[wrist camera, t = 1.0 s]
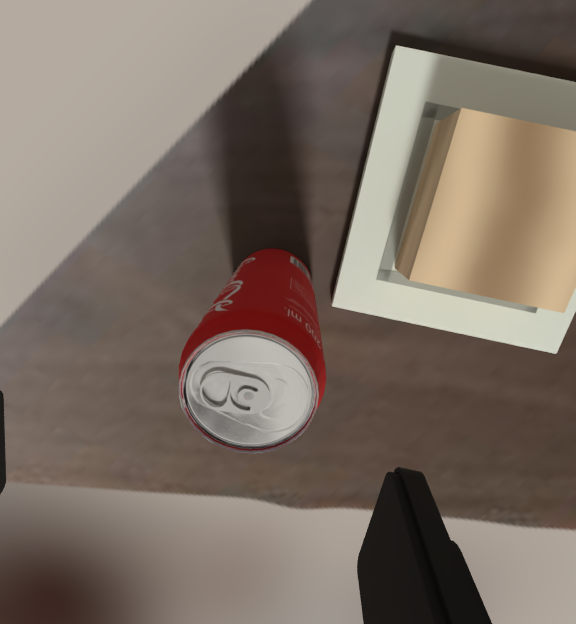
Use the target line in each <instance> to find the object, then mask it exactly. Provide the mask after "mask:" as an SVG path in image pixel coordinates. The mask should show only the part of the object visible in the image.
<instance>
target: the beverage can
mask: <svg viewBox="0 0 576 624" xmlns="http://www.w3.org/2000/svg"><path fill="white" fill-rule="evenodd" d="M325 383H326V370H325V361H324V354H323V348H322V341H321V335H320V328H319V321H318V315H317V308H316V302H315V295H314V288H313V282H312V278H311V275H310V272H309V271H308V269H307V267H306V266H305V264H304V263H303V262H302V261H301V260H300V259H299V258H298V257H297V256H295V255H293V254H292V253H290V252H288V251H284V250H281V249H273V248H272V249H263V250H260V251H257V252H255V253H253V254H251V255H249V256H248V257H247V258H246V259H245V260H243V262H242V263H241V264H240V265H239V267H238V268H237V270H236V271H235V272H234V274H233V275H232V277H231V278H230V280H229V281H228V283H227V284H226V285H225V287H224V288H223V290H222V291H221V293H220V294H219V296H218V297H217V299H216V300H215V301H214V303H213V304H212V306H211V307H210V309H209V310H208V312H207V313H206V314H205V316H204V317H203V319H202V320H201V322H200V323H199V325H198V326H197V327H196V329H195V330H194V332H193V333H192V335H191V336H190V338H189V339H188V341H187V343H186V345H185V347H184V349H183V351H182V355H181V359H180V364H179V397H180V402H181V406H182V409H183V411H184V413H185V415H186V417H187V419H188V420H189V422H190V423H191V425H192V426H193V427H194V428H195V429H196V430H197V431H198V432H199V433H200V434H201V435H202V436H203V437H205V438H206V439H208V440H209V441H211V442H212V443H214V444H216V445H218V446H220V447H223V448H225V449H228V450H232V451H236V452H243V453H262V452H267V451H271V450H276V449H278V448H280V447H283V446H285V445H287V444H289V443H290V442H292V441H293V440H295V439H296V438H298V437H299V436H300V435H301V434H302V433H303V432H304V431H305V430H306V428H307V427H308V425H309V424H310V422H311V421H312V419H313V416H314V414H315V411H316V409H317V408H318V406H319V404H320V402H321V399H322V396H323V394H324V389H325Z"/></svg>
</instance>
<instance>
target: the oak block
mask: <svg viewBox="0 0 576 624" xmlns="http://www.w3.org/2000/svg"><path fill="white" fill-rule="evenodd" d="M395 269H396V270H397V271H399V272H400V273H401V274H402V275H403V276H404V277H406V278H407V279H408V280H409V281H414V282H419V283H424V284H428V285H433V286H438V287H443V288H447V289H452V290H457V291H461V292H466V293H471V294H476V295H480V296H485V297H490V298H495V299H499V300H504V301H509V302H514V303H518V304H523V305H528V306H532V307H537V308H542V309H547V310H551V311H556V312H561V313H564V312H565V310H566V308H567V306H568V303H569V301H570V299H571V297H572V294H573V292H574V290H575V288H576V131H572V130H567V129H562V128H557V127H552V126H548V125H543V124H538V123H533V122H528V121H523V120H519V119H514V118H509V117H504V116H499V115H494V114H489V113H485V112H480V111H475V110H470V109H465V108H460V109H459V110H457V111H456V112H454V113H452V114H451V115H449V116H448V117H446V118H445V119H443V120H441V121H440V122H438V123H437V124H436V128H435V131H434V135H433V138H432V141H431V145H430V148H429V152H428V155H427V159H426V162H425V166H424V169H423V173H422V176H421V179H420V183H419V186H418V190H417V193H416V197H415V200H414V204H413V207H412V211H411V214H410V217H409V221H408V224H407V228H406V231H405V235H404V238H403V242H402V245H401V249H400V252H399V255H398V259H397V262H396V266H395Z"/></svg>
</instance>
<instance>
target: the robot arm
mask: <svg viewBox="0 0 576 624" xmlns="http://www.w3.org/2000/svg"><path fill="white" fill-rule="evenodd" d="M5 483H6V462H5V430H4V398H3V393H2V391H0V494H1V492H2V491H3V489H4V486H5ZM357 572H358V580H359V589H360V597H361V605H362V613H363V621H364V624H492V623H491V620H490V618H489V616H488V613H487V611H486V609H485V606H484V604H483V601H482V599H481V597H480V594H479V592H478V590H477V587H476V585H475V583H474V581H473V578H472V576H471V573H470V571H469V569H468V566H467V564H466V562H465V559H464V557H463V555H462V552H461V551H460V549H459V547H458V545H457V544H456V543H455V542H454V541H451V540H450V537H449V535H448V533H447V530H446V528H445V525H444V523H443V520H442V518H441V516H440V513H439V511H438V508H437V506H436V503H435V501H434V498H433V496H432V494H431V491H430V489H429V486H428V484H427V481H426V479H425V476H424V475H423V473H421V472H419V471H414V470H409V469H405V468H400V467H398V468H396V469H395V470H394V473H393V472H388V473H387V474H386V476H385V479H384V482H383V485H382V488H381V491H380V494H379V497H378V500H377V503H376V506H375V509H374V511H373V515H372V517H371V520H370V523H369V527H368V529H367V532H366V535H365V538H364V541H363V544H362V547H361V550H360V553H359V556H358V564H357Z"/></svg>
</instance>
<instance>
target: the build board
mask: <svg viewBox="0 0 576 624" xmlns="http://www.w3.org/2000/svg"><path fill="white" fill-rule="evenodd" d="M460 108H465V109H470V110H475V111H480V112H485V113H489V114H494V115H499V116H504V117H509V118H514V119H519V120H523V121H528V122H533V123H538V124H543V125H548V126H552V127H557V128H562V129H567V130H572V131H576V82H572V81H568V80H563V79H558V78H553V77H548V76H543V75H538V74H533V73H529V72H524V71H519V70H514V69H509V68H504V67H499V66H495V65H490V64H485V63H480V62H475V61H470V60H465V59H460V58H456V57H451V56H446V55H441V54H436V53H431V52H426V51H421V50H417V49H412V48H407V47H402V46H397V45H396V46H395V48H394V50H393V52H392V55H391V59H390V63H389V68H388V72H387V76H386V80H385V84H384V88H383V92H382V96H381V100H380V104H379V109H378V113H377V117H376V121H375V125H374V129H373V133H372V137H371V141H370V145H369V149H368V154H367V158H366V162H365V166H364V170H363V174H362V178H361V182H360V186H359V190H358V194H357V199H356V203H355V207H354V211H353V215H352V219H351V223H350V227H349V231H348V235H347V239H346V244H345V248H344V252H343V256H342V260H341V264H340V268H339V272H338V276H337V280H336V285H335V289H334V293H333V297H332V301H331V303H332V306H333V307H338V308H343V309H347V310H352V311H357V312H361V313H366V314H371V315H376V316H380V317H385V318H390V319H394V320H399V321H404V322H408V323H413V324H418V325H423V326H427V327H432V328H437V329H441V330H446V331H451V332H456V333H460V334H465V335H470V336H474V337H479V338H484V339H488V340H493V341H498V342H503V343H507V344H512V345H517V346H521V347H526V348H531V349H536V350H540V351H545V352H550V353H554V354H556V353H557V351H558V349H559V347H560V345H561V342H562V340H563V338H564V336H565V333H566V331H567V329H568V327H569V325H570V322H571V320H572V318H573V316H574V314H575V311H576V288H575V290H574V292H573V294H572V297H571V299H570V301H569V303H568V306H567V308H566V310H565V312H564V313H561V312H556V311H551V310H547V309H542V308H537V307H532V306H528V305H523V304H518V303H514V302H509V301H504V300H499V299H495V298H490V297H485V296H480V295H476V294H471V293H466V292H461V291H457V290H452V289H447V288H443V287H438V286H433V285H428V284H424V283H419V282H414V281H409V280H408V279H407V278H406V277H404V276H403V275H402V274H401V273H400V272H399V271H397V270H396V269H395V266H396V262H397V259H398V255H399V252H400V249H401V245H402V242H403V238H404V235H405V231H406V228H407V224H408V221H409V217H410V214H411V211H412V207H413V204H414V200H415V197H416V193H417V190H418V186H419V183H420V179H421V176H422V173H423V169H424V166H425V162H426V159H427V155H428V152H429V148H430V145H431V141H432V138H433V135H434V131H435V128H436V124H437V123H438V122H440V121H441V120H443V119H445V118H446V117H448V116H449V115H451V114H452V113H454V112H456V111H457V110H459V109H460Z"/></svg>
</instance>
